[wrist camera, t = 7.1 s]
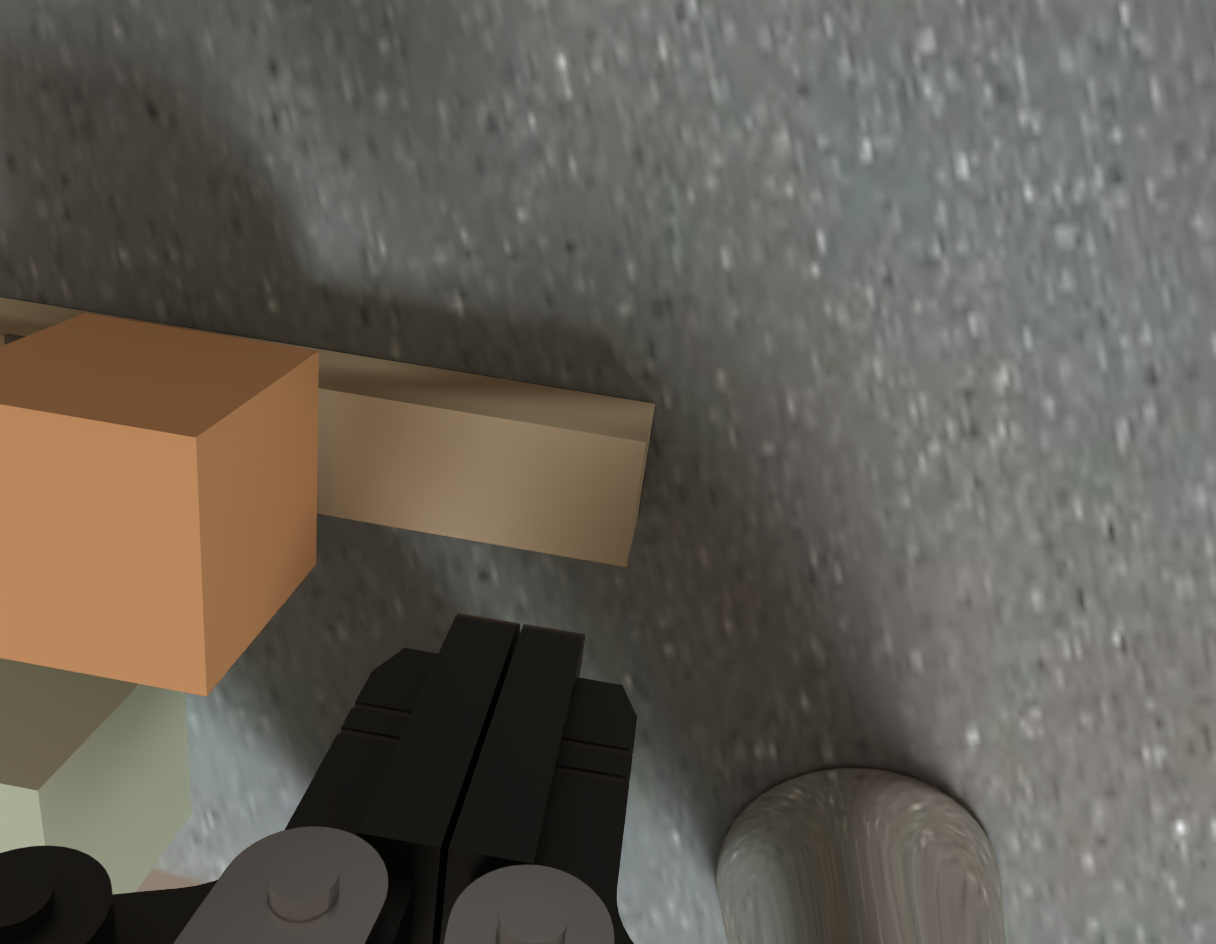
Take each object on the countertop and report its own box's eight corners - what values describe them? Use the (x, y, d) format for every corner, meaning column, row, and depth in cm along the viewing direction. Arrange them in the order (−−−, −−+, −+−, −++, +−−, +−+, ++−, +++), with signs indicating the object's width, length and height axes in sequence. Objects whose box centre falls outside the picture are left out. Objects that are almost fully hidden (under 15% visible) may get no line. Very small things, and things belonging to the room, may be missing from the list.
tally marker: (318, 351, 16) (195, 437, 13) (316, 564, 18) (206, 696, 14) (85, 313, 16) (-102, 386, 13) (103, 526, 18) (-59, 647, 14)
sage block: (184, 637, 22) (37, 790, 17) (193, 811, 24) (64, 990, 19) (-30, 598, 22) (-228, 738, 18) (-3, 773, 24) (-176, 940, 20)
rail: (656, 401, 18) (645, 441, 16) (636, 521, 19) (625, 571, 17) (-439, 223, 20) (-564, 241, 18) (-403, 344, 21) (-519, 373, 19)
